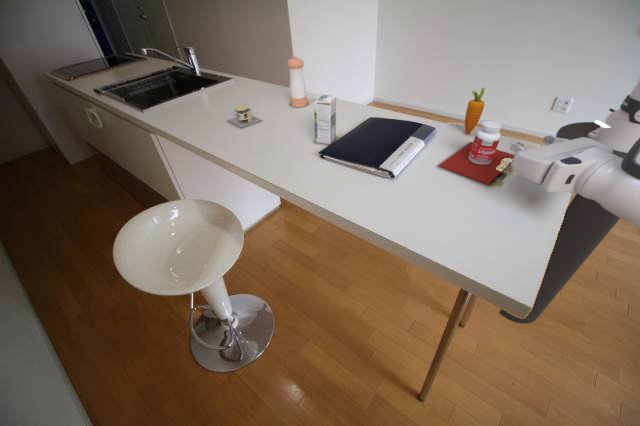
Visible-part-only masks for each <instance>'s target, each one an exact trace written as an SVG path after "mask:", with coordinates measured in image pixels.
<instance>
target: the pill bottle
mask: <svg viewBox="0 0 640 426" xmlns="http://www.w3.org/2000/svg"><path fill="white" fill-rule="evenodd" d="M502 126H503V125H502V123H500V122H498V121H495V120H485V121H483V122H482V124H481V126H480V129H478V130H477V131H476V133H475V136H474V139H473V141H472V142H473V144H472V147H471V150H470V153H469V157H468V159H469V160H470V161H471V162H472V163H474V164H478V165H487V164H490V163H491V161H492V158H493V156H494V153H495V151H496V150H497V148H498V146H499V143H500V140H501V138H502V134H501V129H502Z"/></svg>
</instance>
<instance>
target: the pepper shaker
mask: <svg viewBox="0 0 640 426" xmlns="http://www.w3.org/2000/svg"><path fill="white" fill-rule="evenodd" d="M286 63H287V64H286V66H287V68H288V71H289V79H290V80H289V92H290V96H289V99H290V106H291V107H293V108H301V107H306V106H307V105H308V98H307V97H308V96H307V94H306V84H305V80H304V71H303V67H304V66H305V62H304V60H303V59H302V58H299V57H297V55H296V56H295V55H293V57H291V58H290V59H288V60H287V62H286Z"/></svg>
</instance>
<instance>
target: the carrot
mask: <svg viewBox="0 0 640 426" xmlns="http://www.w3.org/2000/svg"><path fill="white" fill-rule="evenodd" d="M485 91H486V88H485V87H482V88H481V90H480V93H478V91H477V90H472V91H471V93H472V94H473V96H474V99H470V100H469V101H468V103H467V107H466V111H465V117H464V130H465V134H466V135H469V134H471V132H473V130H474V129H475V128H476V126H477V125H478V123H479V121H480V119H481V116H482V115H483V111H484V108H485V101H483V100H482V98H483V96H484V95H485V93H486V92H485Z"/></svg>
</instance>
